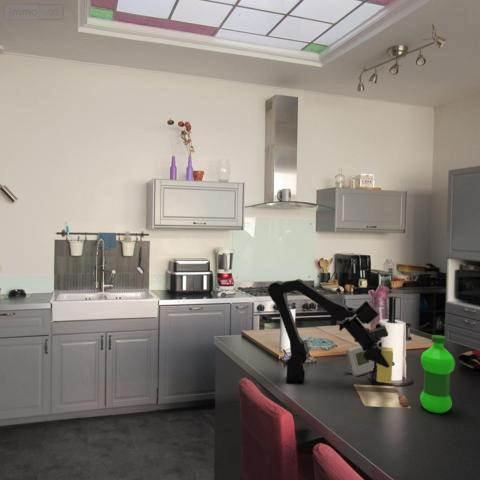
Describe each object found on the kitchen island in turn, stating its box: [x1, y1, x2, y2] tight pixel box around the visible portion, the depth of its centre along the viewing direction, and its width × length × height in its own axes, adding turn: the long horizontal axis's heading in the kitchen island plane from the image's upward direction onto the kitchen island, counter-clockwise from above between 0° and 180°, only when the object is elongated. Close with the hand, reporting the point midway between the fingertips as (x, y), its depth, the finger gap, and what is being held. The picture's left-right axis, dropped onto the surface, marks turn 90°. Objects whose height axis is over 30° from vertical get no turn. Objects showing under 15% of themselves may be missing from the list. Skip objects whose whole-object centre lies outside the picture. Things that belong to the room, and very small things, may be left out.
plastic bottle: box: [419, 334, 456, 414], centre depth 163 cm, size 10×10×25 cm
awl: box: [397, 391, 410, 407], centre depth 169 cm, size 2×10×2 cm, turn 177°
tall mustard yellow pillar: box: [376, 346, 394, 384], centre depth 180 cm, size 5×5×12 cm
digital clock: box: [346, 344, 374, 377], centre depth 204 cm, size 16×9×11 cm, turn 121°
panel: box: [353, 384, 411, 409], centre depth 175 cm, size 15×21×1 cm
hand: (388, 364), depth 180 cm, fingers closed on tall mustard yellow pillar, 5 cm apart
